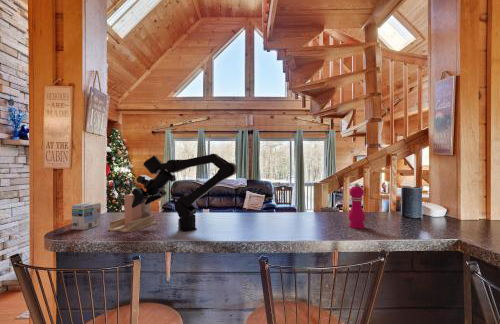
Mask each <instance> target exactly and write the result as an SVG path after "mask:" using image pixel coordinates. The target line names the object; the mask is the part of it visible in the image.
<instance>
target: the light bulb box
mask: <svg viewBox="0 0 500 324" xmlns="http://www.w3.org/2000/svg"><path fill="white" fill-rule="evenodd" d="M101 206H102V205H101V202H96V201H95V202H92V201H89V202H83V203H78V204H72V205H71V230H82V231H85V230H87V229H91V228H94V227H95V226H96V227H99V226H101V224H102V223H101V222H102V221H101V219H102V217H101V216H102V212H101V211H102V210H101V209H102V207H101Z"/></svg>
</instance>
